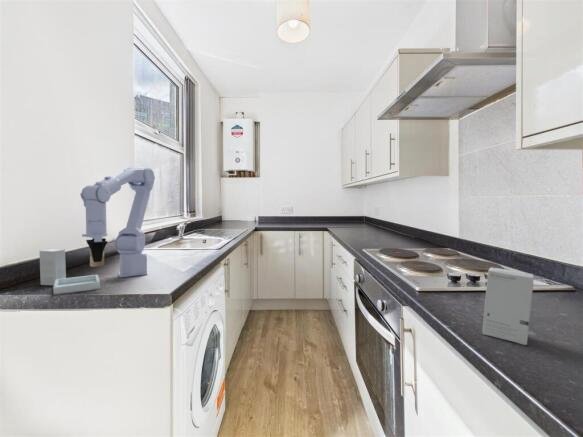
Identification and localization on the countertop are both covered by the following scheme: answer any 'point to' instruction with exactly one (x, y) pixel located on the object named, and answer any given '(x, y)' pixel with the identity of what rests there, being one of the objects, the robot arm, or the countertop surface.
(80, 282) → the tray
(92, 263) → the birch cylinder
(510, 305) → the skincare box
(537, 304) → the countertop surface
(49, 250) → the skincare box
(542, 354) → the countertop surface
